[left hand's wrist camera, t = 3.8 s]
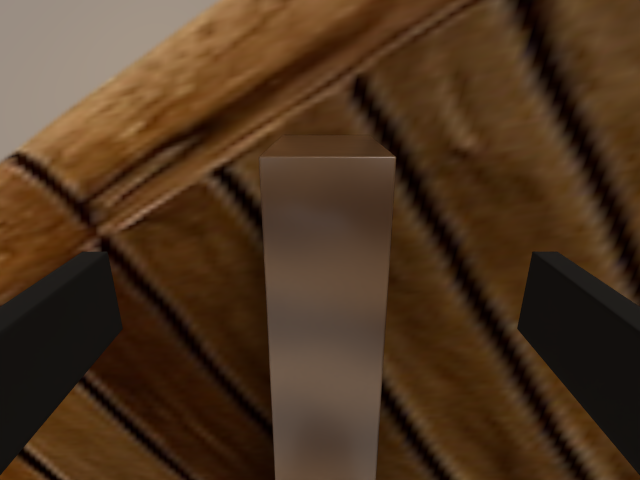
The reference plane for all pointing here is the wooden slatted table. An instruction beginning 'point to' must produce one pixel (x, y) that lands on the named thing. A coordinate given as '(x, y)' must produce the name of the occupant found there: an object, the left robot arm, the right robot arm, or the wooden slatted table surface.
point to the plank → (326, 300)
